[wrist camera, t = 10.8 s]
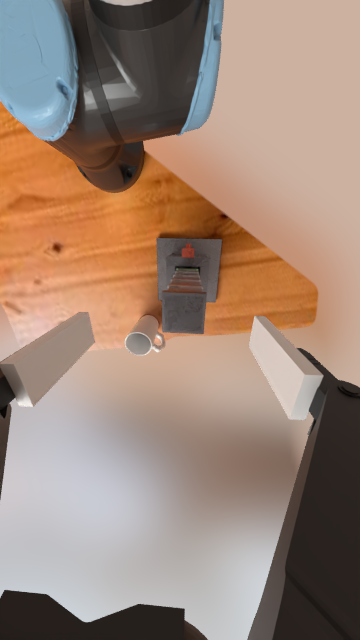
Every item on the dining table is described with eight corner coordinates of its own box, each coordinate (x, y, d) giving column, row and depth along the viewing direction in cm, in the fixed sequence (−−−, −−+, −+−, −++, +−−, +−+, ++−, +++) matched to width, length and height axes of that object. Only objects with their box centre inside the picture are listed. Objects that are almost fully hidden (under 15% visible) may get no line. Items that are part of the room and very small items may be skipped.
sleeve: (157, 238, 45) (146, 236, 34) (221, 239, 45) (231, 238, 33) (159, 298, 52) (150, 314, 40) (214, 300, 51) (221, 317, 40)
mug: (134, 327, 56) (120, 348, 45) (143, 310, 53) (130, 327, 42) (163, 341, 57) (156, 365, 46) (172, 325, 55) (168, 346, 44)
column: (177, 266, 39) (161, 292, 18) (198, 267, 38) (206, 293, 18) (176, 287, 40) (162, 332, 20) (197, 288, 40) (203, 333, 20)
